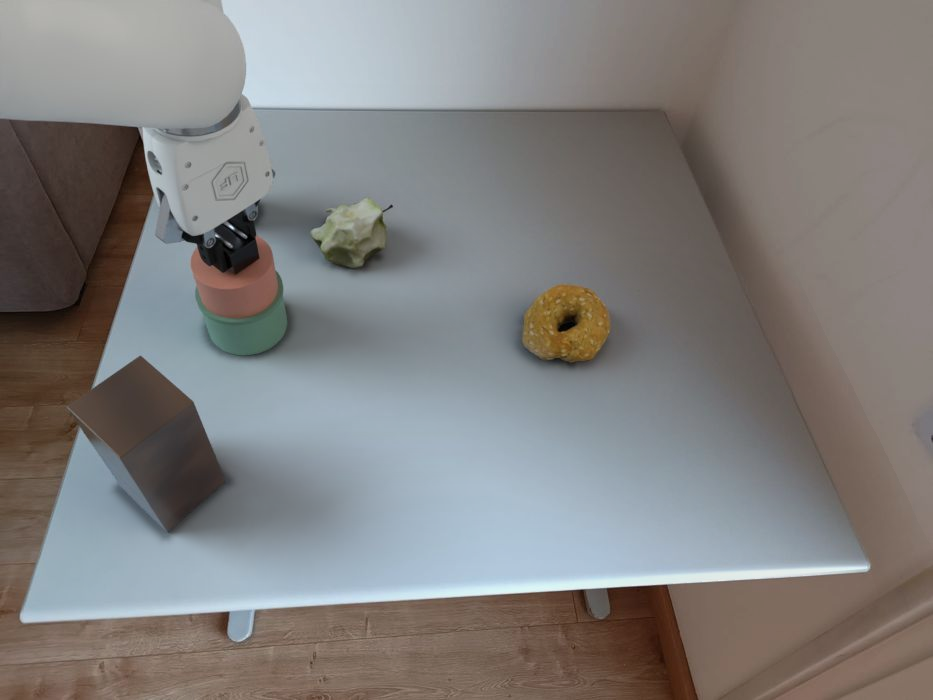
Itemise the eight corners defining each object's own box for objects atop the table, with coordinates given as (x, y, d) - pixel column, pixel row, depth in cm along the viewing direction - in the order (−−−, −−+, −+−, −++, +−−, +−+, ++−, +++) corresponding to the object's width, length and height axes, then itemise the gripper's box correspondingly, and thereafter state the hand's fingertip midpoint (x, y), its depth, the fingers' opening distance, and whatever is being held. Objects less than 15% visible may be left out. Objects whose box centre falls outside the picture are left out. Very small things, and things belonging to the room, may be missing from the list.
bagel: (501, 323, 86) (507, 297, 82) (573, 291, 90) (581, 265, 86) (550, 383, 81) (558, 359, 77) (623, 346, 85) (634, 321, 82)
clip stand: (167, 532, 67) (119, 458, 55) (121, 487, 69) (65, 406, 57) (226, 481, 71) (193, 401, 59) (180, 440, 73) (140, 354, 61)
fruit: (386, 231, 95) (398, 191, 88) (374, 287, 90) (386, 249, 83) (318, 213, 93) (324, 170, 87) (302, 269, 89) (307, 228, 82)
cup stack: (244, 371, 79) (226, 307, 70) (189, 326, 81) (165, 259, 73) (305, 323, 83) (296, 258, 74) (252, 282, 86) (237, 215, 77)
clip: (235, 275, 71) (229, 252, 69) (202, 250, 73) (195, 226, 70) (259, 258, 73) (255, 235, 70) (227, 234, 75) (221, 210, 72)
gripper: (134, 166, 53) (189, 320, 68) (298, 77, 61) (315, 232, 76) (73, 121, 55) (139, 279, 70) (239, 41, 64) (267, 198, 78)
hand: (230, 253), depth 73 cm, fingers closed on clip, 3 cm apart
